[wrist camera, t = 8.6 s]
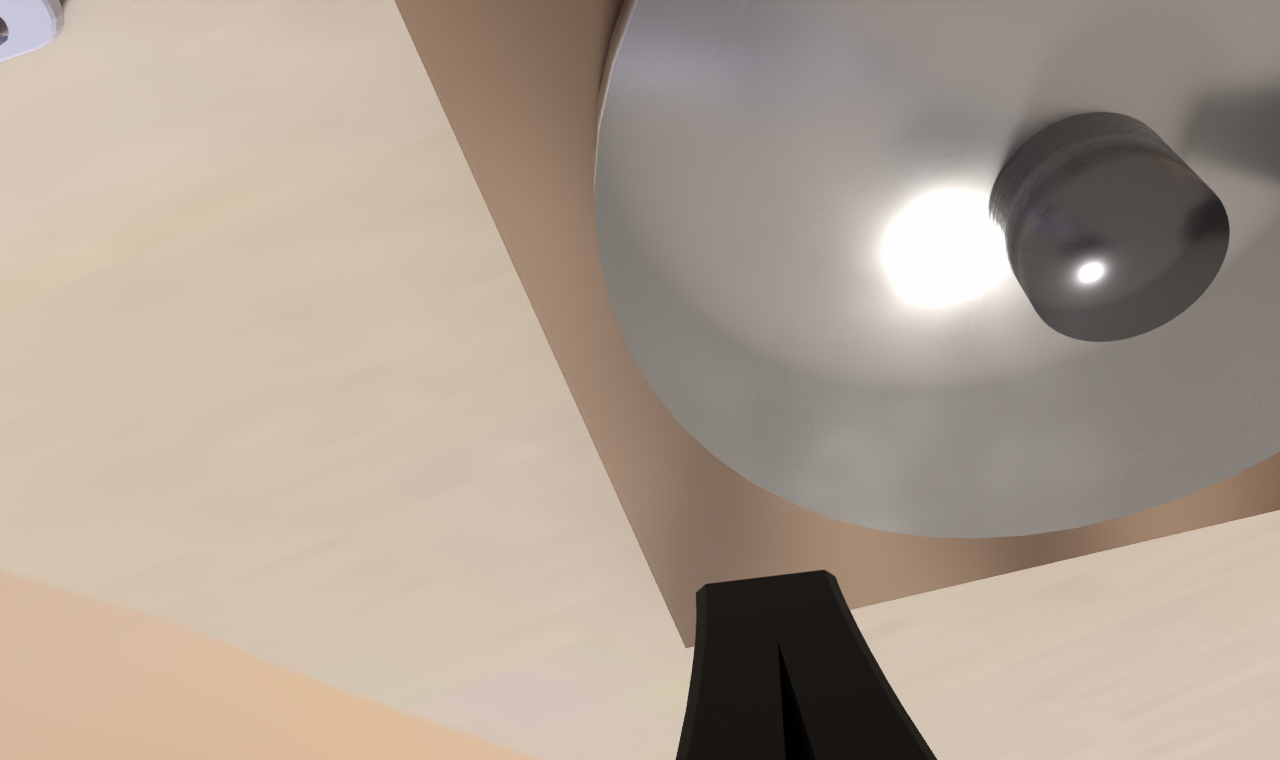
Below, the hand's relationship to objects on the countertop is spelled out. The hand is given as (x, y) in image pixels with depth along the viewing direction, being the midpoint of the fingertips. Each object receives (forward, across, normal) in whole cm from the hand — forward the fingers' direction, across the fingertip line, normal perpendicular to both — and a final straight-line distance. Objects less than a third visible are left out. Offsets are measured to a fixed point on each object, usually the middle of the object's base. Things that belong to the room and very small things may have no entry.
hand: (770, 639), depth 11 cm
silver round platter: (+8, -5, -2) cm, 10 cm away
